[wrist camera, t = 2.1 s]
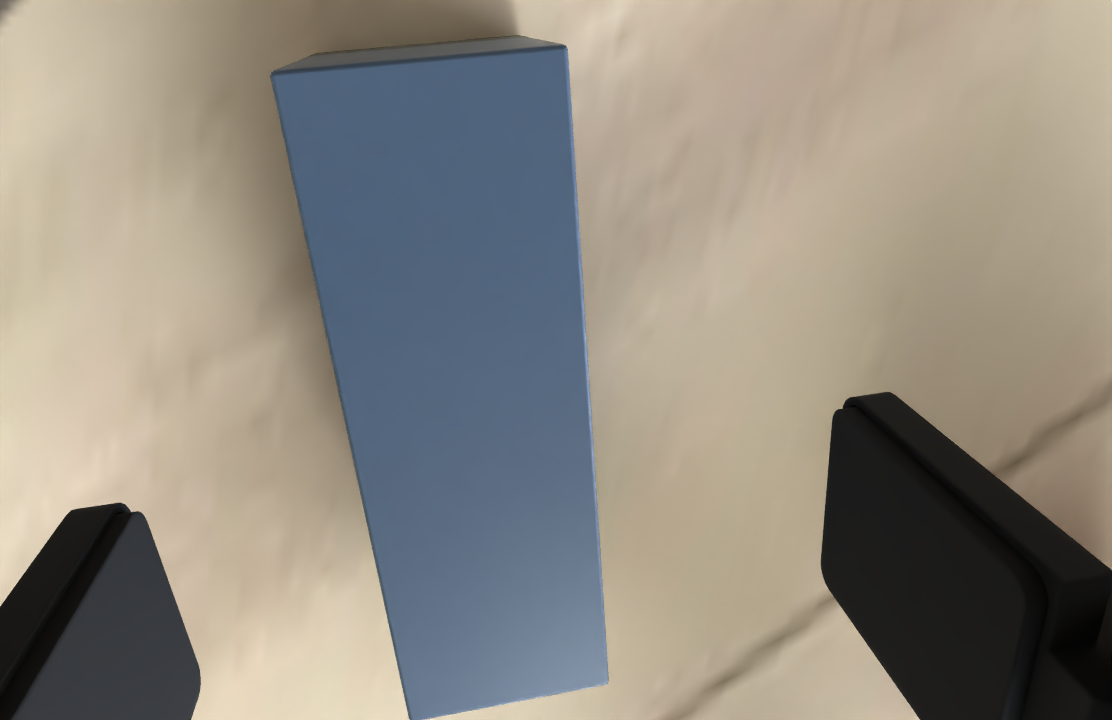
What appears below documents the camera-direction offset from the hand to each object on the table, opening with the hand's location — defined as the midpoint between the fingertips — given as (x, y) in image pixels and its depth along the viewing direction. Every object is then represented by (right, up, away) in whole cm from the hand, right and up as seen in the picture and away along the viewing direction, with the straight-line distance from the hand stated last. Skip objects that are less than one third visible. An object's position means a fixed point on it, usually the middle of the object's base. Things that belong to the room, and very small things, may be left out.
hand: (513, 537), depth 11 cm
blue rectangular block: (-2, +3, +7) cm, 8 cm away
